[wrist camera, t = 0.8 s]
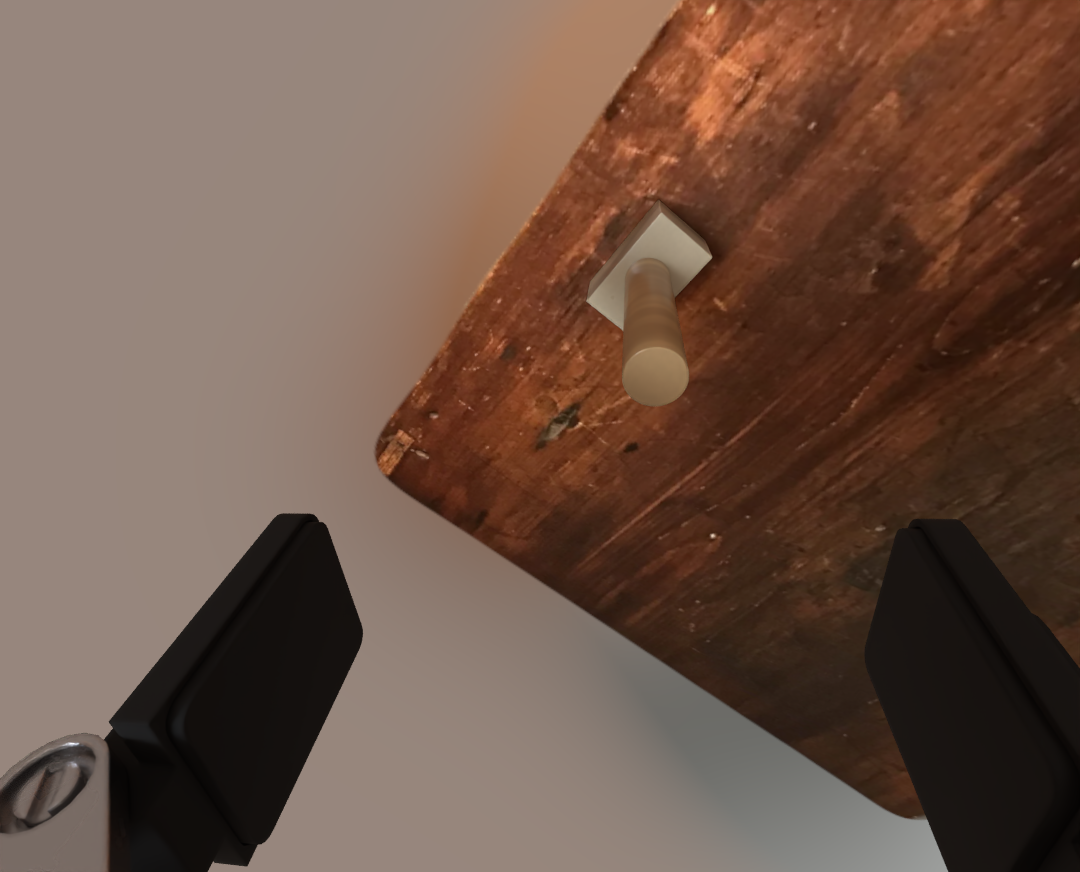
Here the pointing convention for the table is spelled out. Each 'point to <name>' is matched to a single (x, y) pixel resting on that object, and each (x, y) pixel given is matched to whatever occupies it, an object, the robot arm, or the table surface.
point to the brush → (651, 302)
